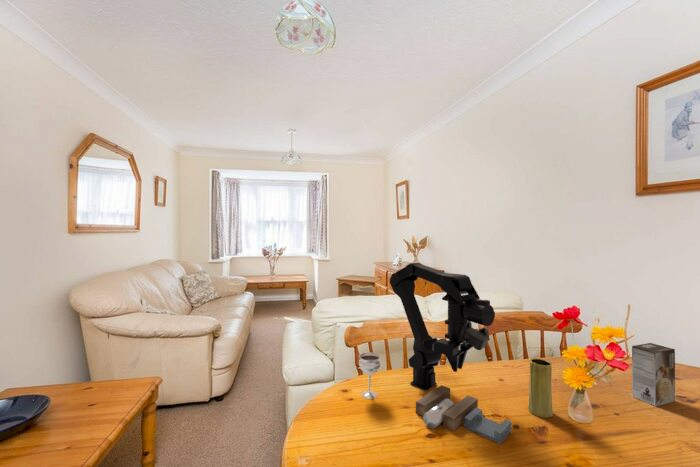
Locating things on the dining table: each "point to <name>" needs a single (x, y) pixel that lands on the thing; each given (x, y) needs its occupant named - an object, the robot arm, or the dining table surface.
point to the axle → (437, 413)
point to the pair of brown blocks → (454, 414)
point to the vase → (540, 388)
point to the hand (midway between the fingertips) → (457, 370)
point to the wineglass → (369, 370)
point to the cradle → (487, 426)
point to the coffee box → (653, 373)
